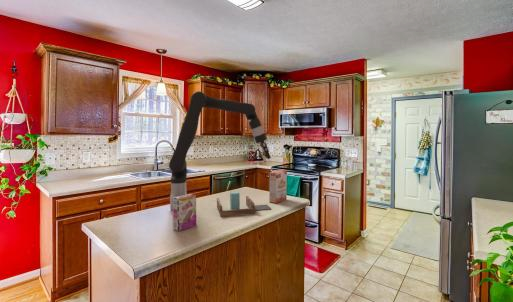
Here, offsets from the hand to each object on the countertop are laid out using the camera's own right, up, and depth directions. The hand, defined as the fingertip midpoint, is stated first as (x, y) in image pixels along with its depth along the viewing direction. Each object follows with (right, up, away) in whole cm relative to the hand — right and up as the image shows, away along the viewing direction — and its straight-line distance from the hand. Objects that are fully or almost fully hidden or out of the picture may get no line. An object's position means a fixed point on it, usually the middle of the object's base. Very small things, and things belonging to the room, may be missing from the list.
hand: (268, 157), depth 170 cm
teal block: (-21, -32, -5) cm, 39 cm away
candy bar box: (-44, -35, -35) cm, 66 cm away
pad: (-5, -32, -1) cm, 32 cm away
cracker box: (+8, -31, +16) cm, 35 cm away
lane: (-21, -32, -5) cm, 39 cm away
